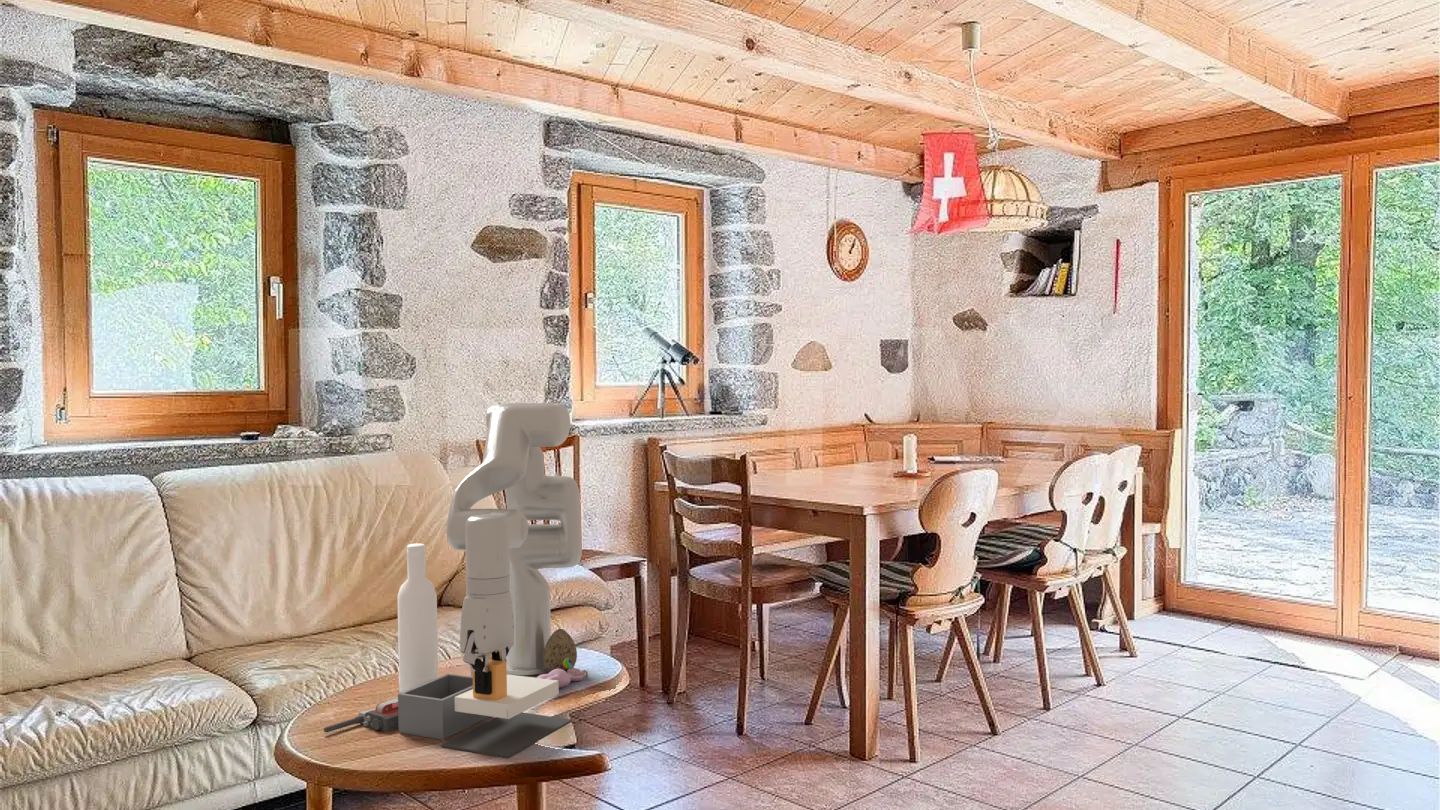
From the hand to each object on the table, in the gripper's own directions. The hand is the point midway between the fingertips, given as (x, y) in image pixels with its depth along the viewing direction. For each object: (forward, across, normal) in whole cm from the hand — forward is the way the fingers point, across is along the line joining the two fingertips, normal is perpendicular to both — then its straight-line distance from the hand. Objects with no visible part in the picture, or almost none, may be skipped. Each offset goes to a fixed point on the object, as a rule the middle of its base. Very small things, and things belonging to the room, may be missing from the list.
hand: (489, 689), depth 183 cm
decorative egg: (+9, -40, -12) cm, 43 cm away
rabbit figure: (+10, -34, -7) cm, 36 cm away
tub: (+9, -5, -14) cm, 18 cm away
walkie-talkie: (+10, -1, -25) cm, 27 cm away
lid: (+4, -5, 0) cm, 6 cm away
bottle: (+10, -20, -33) cm, 40 cm away
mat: (+10, -5, 0) cm, 11 cm away
